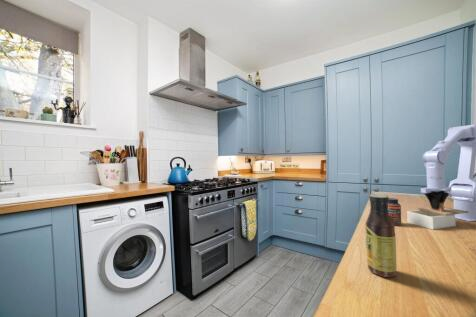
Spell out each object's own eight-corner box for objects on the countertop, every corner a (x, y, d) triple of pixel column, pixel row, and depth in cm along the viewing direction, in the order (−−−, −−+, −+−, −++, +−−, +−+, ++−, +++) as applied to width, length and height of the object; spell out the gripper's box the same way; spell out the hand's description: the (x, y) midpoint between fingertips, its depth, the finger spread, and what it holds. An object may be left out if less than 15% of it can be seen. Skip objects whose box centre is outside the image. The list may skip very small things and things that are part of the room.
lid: (439, 207, 94) (438, 198, 94) (468, 212, 83) (468, 203, 84) (418, 209, 91) (417, 200, 91) (446, 215, 81) (445, 205, 81)
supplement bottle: (388, 225, 86) (386, 199, 86) (382, 221, 92) (381, 197, 92) (404, 226, 84) (403, 200, 84) (397, 222, 90) (396, 197, 90)
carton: (428, 220, 92) (427, 209, 92) (455, 226, 82) (455, 214, 82) (407, 222, 89) (406, 211, 90) (433, 229, 80) (432, 217, 80)
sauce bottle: (368, 263, 55) (365, 192, 56) (397, 270, 51) (394, 194, 52) (365, 273, 50) (362, 196, 51) (396, 282, 46) (393, 198, 47)
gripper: (433, 179, 82) (434, 212, 81) (459, 177, 84) (461, 209, 84) (415, 177, 88) (416, 208, 88) (439, 176, 91) (441, 206, 91)
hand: (436, 208), depth 87 cm, fingers closed on lid, 2 cm apart
